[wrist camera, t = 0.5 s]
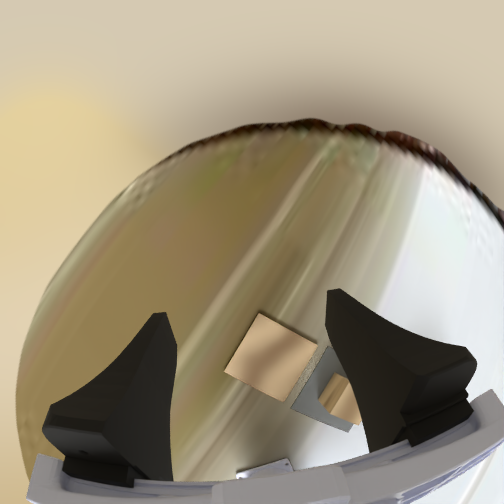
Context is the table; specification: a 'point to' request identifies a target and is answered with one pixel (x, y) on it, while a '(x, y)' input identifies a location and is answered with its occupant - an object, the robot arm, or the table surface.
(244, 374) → the cork coaster
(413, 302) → the table surface
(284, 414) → the table surface
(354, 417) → the oak block
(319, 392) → the grey lettered plate
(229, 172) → the table surface
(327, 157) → the table surface
